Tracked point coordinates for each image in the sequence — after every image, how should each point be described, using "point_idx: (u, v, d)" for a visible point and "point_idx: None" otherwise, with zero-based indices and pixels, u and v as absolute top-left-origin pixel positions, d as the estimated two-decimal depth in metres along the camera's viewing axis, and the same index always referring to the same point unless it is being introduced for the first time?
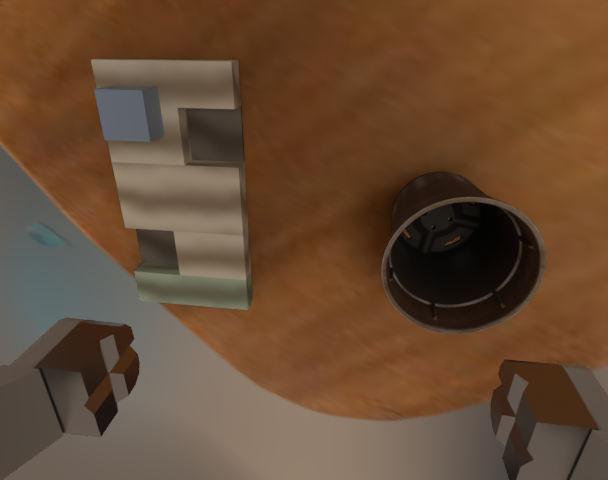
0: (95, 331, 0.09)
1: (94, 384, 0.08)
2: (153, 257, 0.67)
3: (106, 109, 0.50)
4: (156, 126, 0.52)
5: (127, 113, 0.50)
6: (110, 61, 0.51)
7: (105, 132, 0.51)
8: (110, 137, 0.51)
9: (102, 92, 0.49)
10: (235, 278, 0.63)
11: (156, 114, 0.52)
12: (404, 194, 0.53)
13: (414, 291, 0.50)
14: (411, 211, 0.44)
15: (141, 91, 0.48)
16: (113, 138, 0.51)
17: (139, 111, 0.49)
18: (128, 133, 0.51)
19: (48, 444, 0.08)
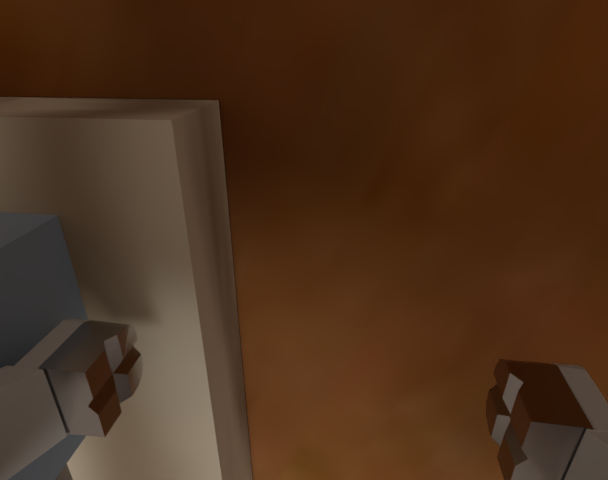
0: (99, 331, 0.09)
1: (98, 384, 0.08)
2: None
3: None
4: None
5: None
6: (179, 234, 0.10)
7: None
8: None
9: None
10: None
11: None
12: None
13: None
14: None
15: None
16: None
17: None
18: None
19: (52, 445, 0.08)
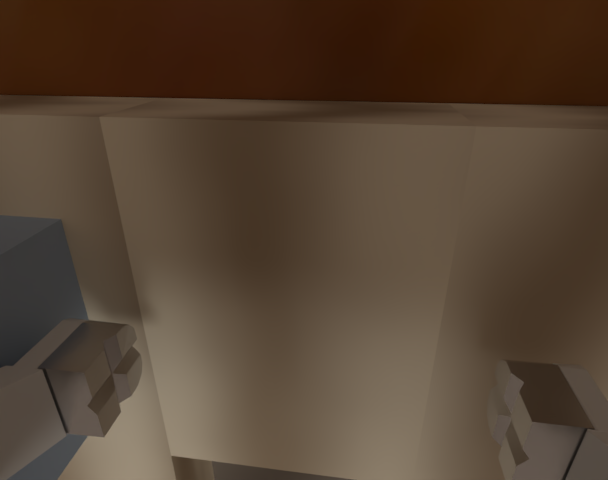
0: (98, 331, 0.09)
1: (97, 384, 0.08)
2: None
3: None
4: None
5: None
6: None
7: None
8: None
9: None
10: None
11: None
12: None
13: None
14: None
15: None
16: None
17: None
18: None
19: (51, 444, 0.08)
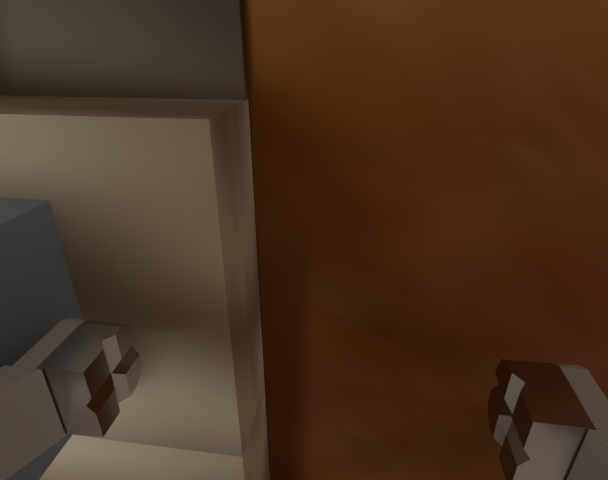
0: (97, 331, 0.09)
1: (96, 384, 0.08)
2: None
3: None
4: None
5: None
6: None
7: None
8: None
9: None
10: None
11: None
12: None
13: None
14: None
15: None
16: None
17: None
18: None
19: (50, 444, 0.08)
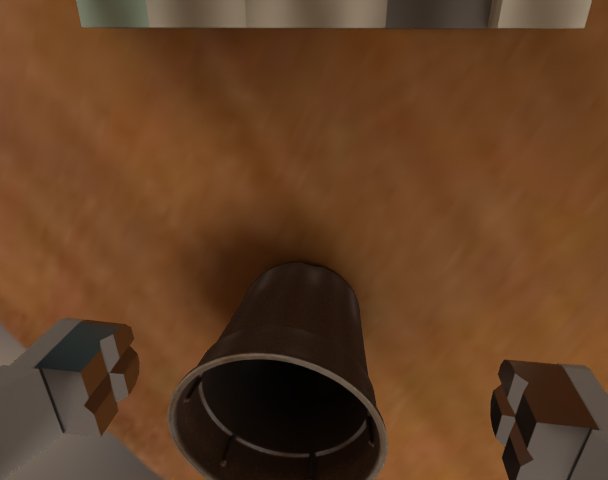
0: (95, 331, 0.09)
1: (94, 384, 0.08)
2: None
3: None
4: None
5: None
6: None
7: None
8: None
9: None
10: (147, 2, 0.30)
11: None
12: (337, 290, 0.39)
13: None
14: (350, 363, 0.30)
15: None
16: None
17: None
18: None
19: (48, 444, 0.08)
